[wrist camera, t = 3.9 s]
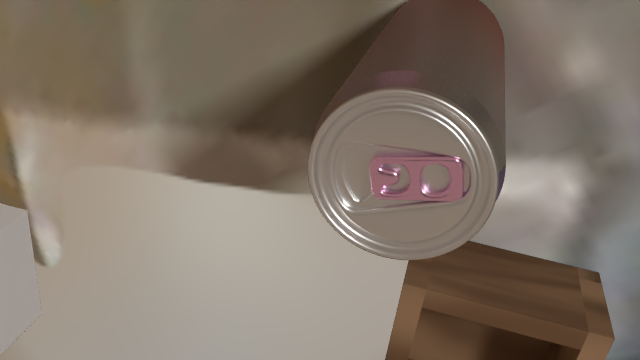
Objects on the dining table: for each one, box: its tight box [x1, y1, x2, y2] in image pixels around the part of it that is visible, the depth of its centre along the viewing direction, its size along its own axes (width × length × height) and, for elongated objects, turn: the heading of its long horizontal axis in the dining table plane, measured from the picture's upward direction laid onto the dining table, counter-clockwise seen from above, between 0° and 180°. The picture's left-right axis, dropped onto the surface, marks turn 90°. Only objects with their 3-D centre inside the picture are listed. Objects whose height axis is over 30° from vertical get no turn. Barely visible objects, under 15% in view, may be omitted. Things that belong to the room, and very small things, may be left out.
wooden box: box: [385, 241, 615, 360], centre depth 35 cm, size 10×10×6 cm
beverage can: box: [308, 0, 506, 260], centre depth 24 cm, size 6×6×15 cm
